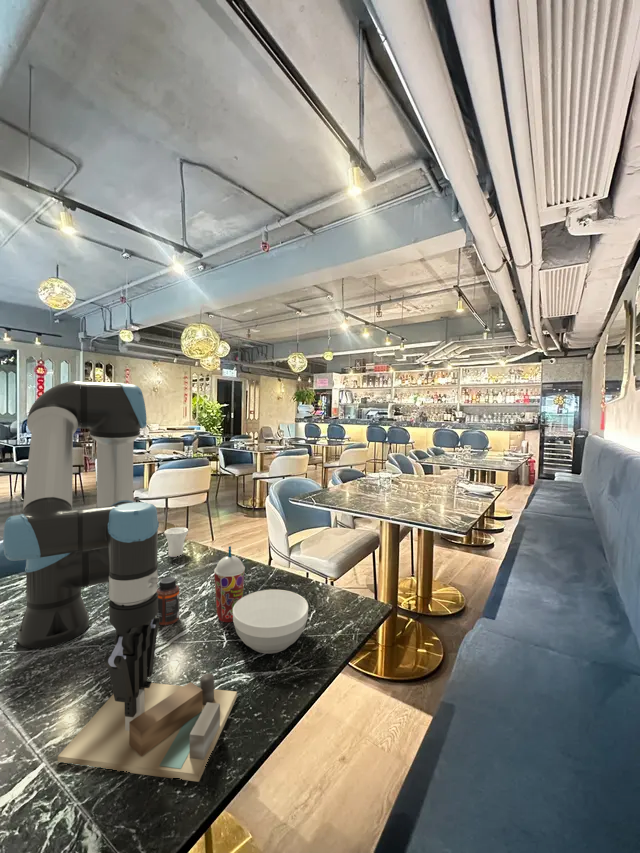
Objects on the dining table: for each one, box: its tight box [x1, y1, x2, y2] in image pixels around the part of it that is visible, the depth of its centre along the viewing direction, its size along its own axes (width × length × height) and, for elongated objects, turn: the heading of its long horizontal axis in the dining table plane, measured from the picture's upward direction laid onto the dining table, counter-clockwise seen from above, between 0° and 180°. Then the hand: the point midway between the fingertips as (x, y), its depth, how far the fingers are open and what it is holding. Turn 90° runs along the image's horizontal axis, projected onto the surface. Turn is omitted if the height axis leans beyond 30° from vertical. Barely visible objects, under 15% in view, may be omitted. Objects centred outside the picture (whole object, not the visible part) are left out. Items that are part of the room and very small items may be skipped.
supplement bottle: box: [156, 576, 180, 626], centre depth 106 cm, size 6×6×11 cm
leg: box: [129, 681, 202, 756], centre depth 69 cm, size 12×4×4 cm, turn 144°
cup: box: [163, 526, 189, 558], centre depth 154 cm, size 9×9×10 cm
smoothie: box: [213, 545, 246, 623], centre depth 108 cm, size 8×8×20 cm
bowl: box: [233, 589, 309, 655], centre depth 98 cm, size 19×19×9 cm
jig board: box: [57, 673, 238, 783], centre depth 71 cm, size 24×18×6 cm
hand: (134, 727), depth 67 cm, fingers closed
